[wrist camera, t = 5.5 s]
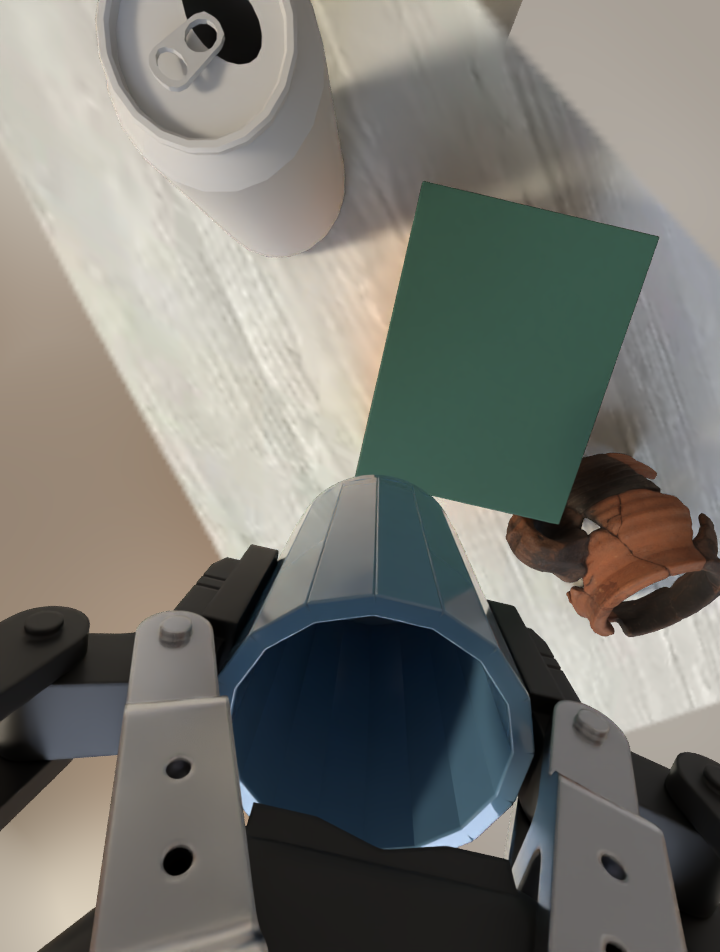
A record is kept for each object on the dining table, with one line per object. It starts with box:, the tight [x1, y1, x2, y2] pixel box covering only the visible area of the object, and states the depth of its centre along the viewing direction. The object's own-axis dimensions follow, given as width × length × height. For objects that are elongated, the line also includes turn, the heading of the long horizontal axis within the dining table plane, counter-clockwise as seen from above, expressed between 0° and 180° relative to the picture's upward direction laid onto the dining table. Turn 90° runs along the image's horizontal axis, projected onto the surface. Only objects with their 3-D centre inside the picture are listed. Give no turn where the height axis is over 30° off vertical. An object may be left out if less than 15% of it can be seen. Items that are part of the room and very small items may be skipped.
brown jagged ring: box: [506, 453, 720, 637], centre depth 26 cm, size 12×10×8 cm
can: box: [95, 0, 345, 257], centre depth 19 cm, size 8×8×12 cm
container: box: [355, 181, 659, 524], centre depth 24 cm, size 14×11×6 cm
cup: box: [218, 475, 535, 849], centre depth 12 cm, size 6×6×8 cm
